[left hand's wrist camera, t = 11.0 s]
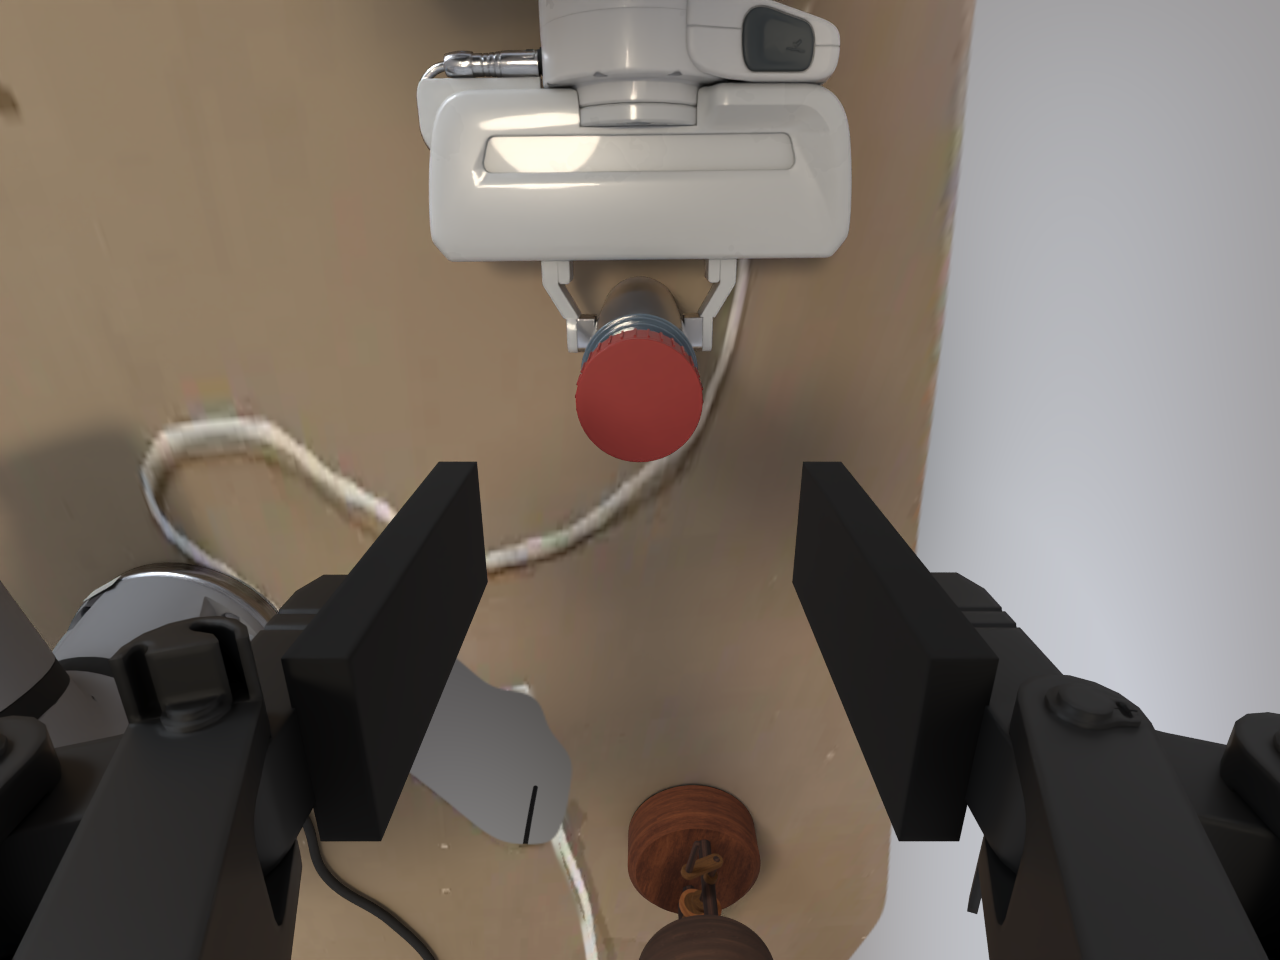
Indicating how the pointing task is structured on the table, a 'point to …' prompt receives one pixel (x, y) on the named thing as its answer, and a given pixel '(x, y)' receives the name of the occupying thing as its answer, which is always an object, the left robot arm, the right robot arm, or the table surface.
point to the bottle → (640, 314)
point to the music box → (696, 872)
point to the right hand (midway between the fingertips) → (640, 350)
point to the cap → (639, 396)
